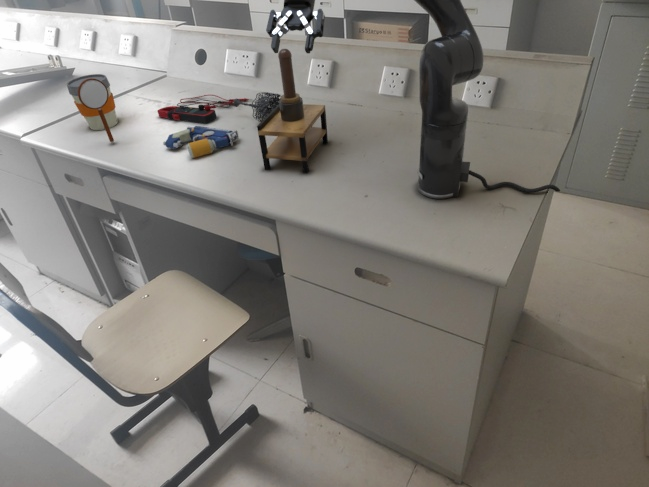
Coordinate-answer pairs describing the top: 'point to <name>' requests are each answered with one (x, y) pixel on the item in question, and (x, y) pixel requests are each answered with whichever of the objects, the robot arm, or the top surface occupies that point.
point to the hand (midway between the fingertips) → (291, 51)
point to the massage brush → (262, 104)
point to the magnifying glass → (95, 99)
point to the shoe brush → (289, 90)
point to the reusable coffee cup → (93, 114)
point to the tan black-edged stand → (292, 135)
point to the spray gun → (201, 139)
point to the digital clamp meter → (194, 111)
